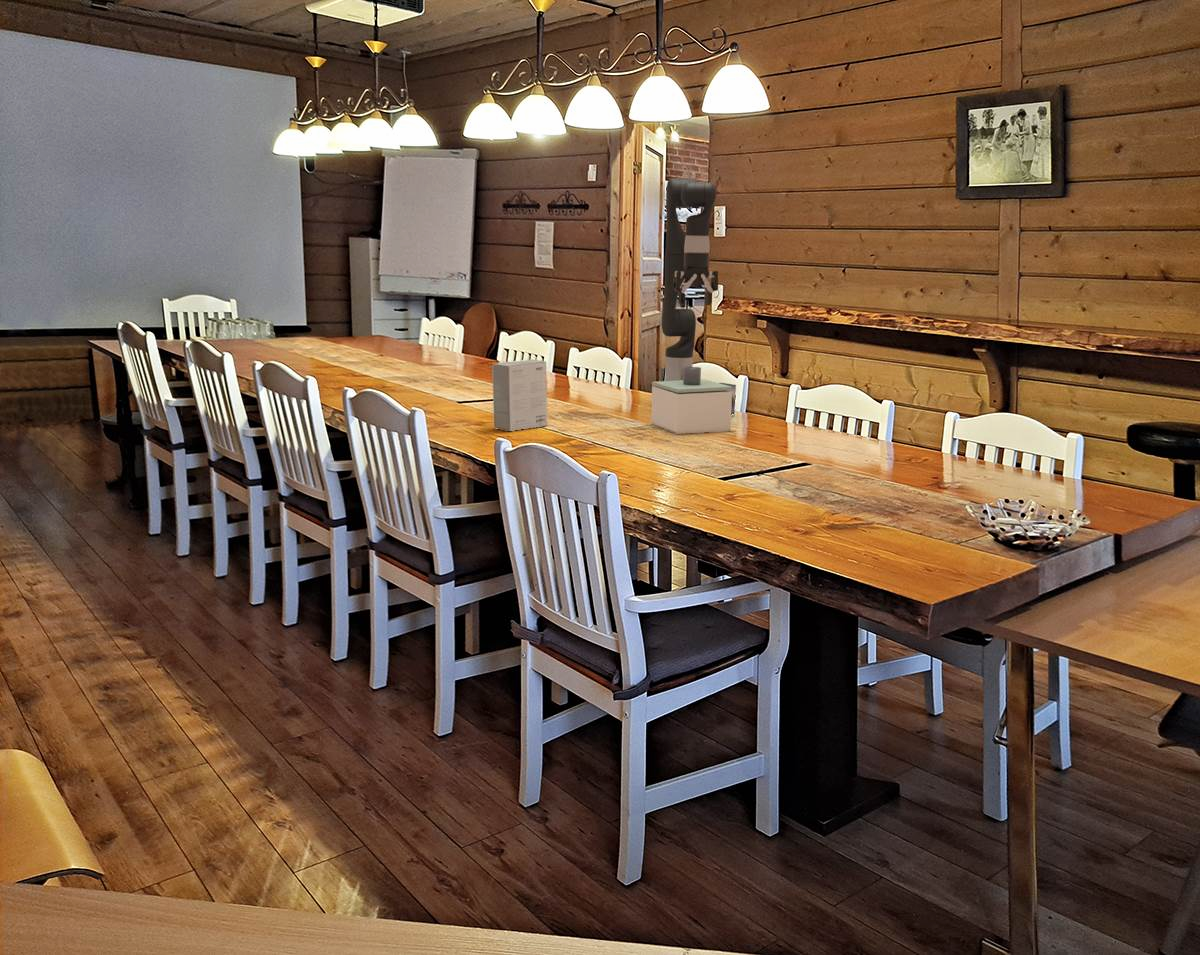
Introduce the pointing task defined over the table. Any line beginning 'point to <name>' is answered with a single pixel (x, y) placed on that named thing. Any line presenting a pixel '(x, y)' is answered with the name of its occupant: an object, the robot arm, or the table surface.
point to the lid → (691, 386)
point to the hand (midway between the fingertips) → (694, 305)
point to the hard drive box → (519, 394)
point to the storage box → (691, 411)
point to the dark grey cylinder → (692, 376)
